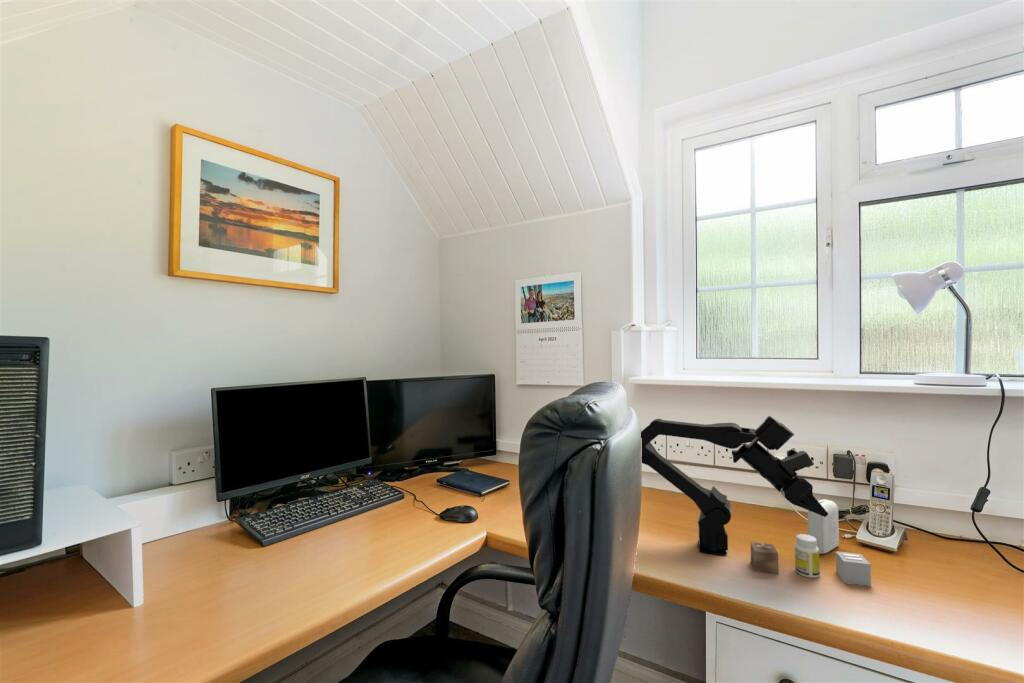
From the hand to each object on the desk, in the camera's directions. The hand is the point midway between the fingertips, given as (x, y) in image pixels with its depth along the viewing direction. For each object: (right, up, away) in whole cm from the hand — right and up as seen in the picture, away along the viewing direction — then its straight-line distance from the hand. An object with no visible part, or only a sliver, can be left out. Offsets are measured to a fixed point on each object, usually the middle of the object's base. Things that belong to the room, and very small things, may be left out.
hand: (821, 510), depth 107 cm
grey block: (+4, -14, -5) cm, 15 cm away
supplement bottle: (-5, -14, -2) cm, 15 cm away
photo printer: (+8, -14, +11) cm, 19 cm away
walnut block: (-13, -14, +1) cm, 19 cm away
